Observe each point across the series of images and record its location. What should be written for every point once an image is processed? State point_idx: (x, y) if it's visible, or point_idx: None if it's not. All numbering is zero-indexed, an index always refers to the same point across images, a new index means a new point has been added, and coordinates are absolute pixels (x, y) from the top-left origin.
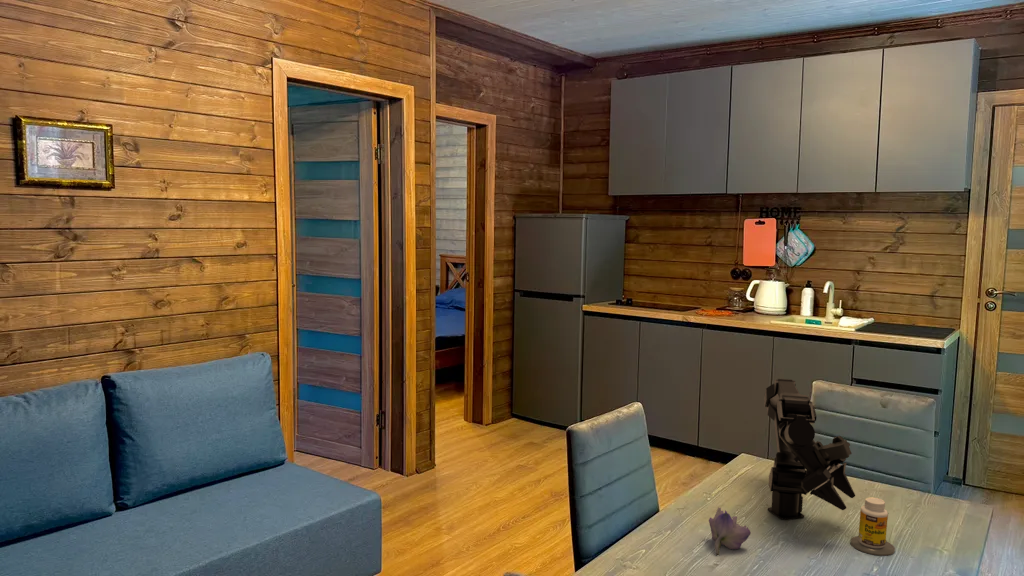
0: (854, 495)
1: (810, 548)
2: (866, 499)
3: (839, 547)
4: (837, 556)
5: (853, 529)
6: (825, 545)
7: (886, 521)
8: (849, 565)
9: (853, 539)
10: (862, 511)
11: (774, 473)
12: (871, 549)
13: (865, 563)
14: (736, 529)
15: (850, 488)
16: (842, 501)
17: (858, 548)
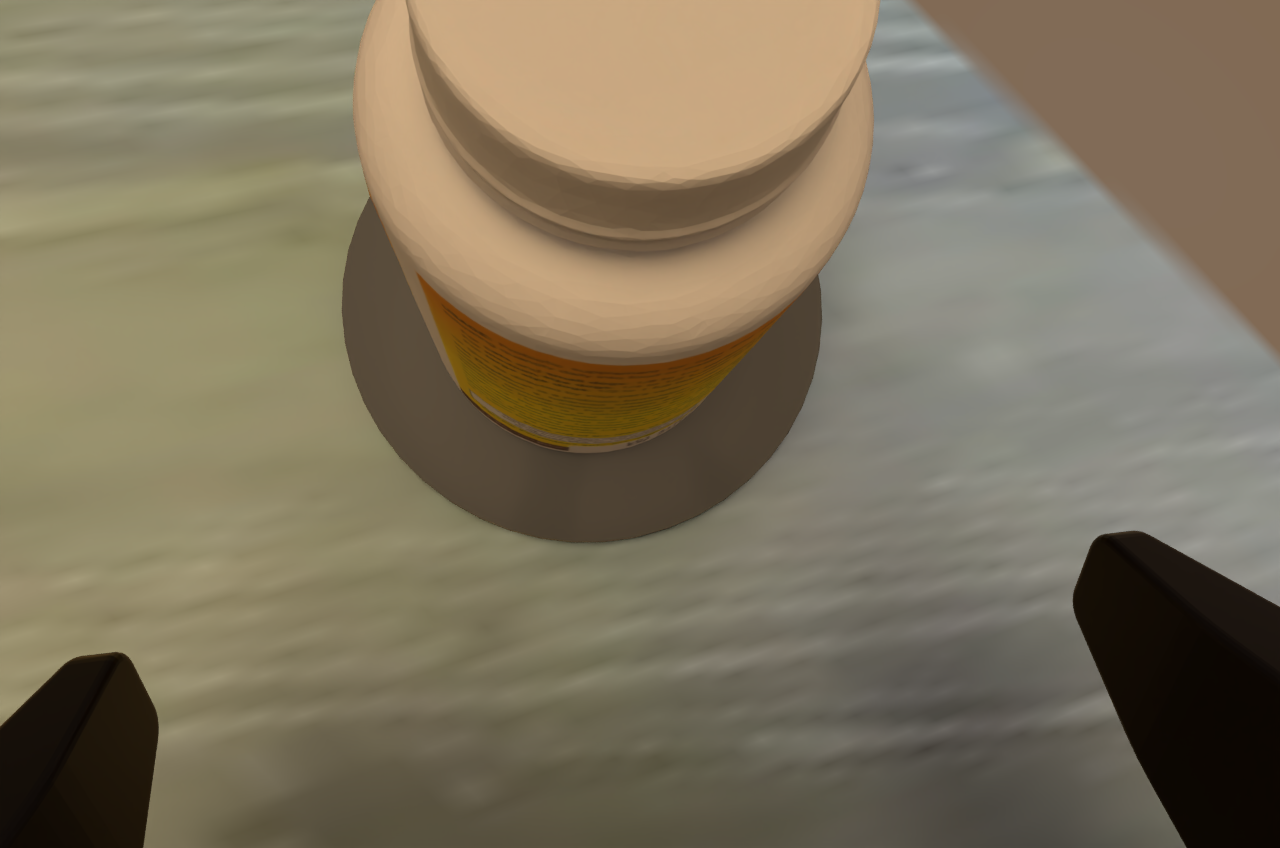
0: (116, 667)
1: (1160, 818)
2: (746, 143)
3: (883, 579)
4: (1119, 515)
5: (202, 639)
6: (953, 721)
7: None
8: (1219, 355)
9: (607, 511)
10: (804, 285)
11: None
12: None
13: (1054, 249)
14: None
15: (12, 841)
16: (1272, 624)
17: (804, 392)
